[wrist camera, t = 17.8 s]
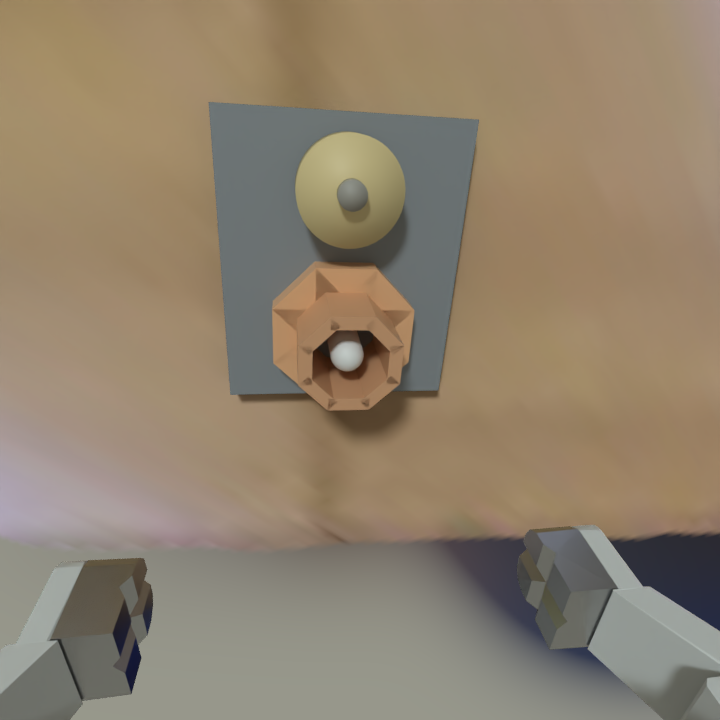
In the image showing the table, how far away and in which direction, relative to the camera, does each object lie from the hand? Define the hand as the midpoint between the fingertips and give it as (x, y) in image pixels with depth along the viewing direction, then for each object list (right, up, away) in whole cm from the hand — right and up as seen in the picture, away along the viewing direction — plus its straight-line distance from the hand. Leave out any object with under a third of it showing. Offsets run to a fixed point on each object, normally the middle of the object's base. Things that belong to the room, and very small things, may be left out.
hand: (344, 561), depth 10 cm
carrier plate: (-1, +11, +22) cm, 24 cm away
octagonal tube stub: (-1, +6, +22) cm, 23 cm away
